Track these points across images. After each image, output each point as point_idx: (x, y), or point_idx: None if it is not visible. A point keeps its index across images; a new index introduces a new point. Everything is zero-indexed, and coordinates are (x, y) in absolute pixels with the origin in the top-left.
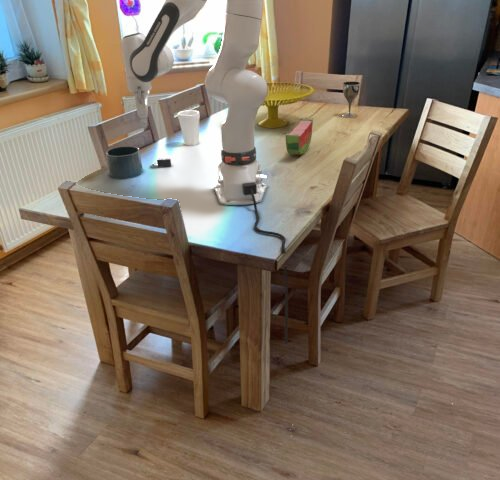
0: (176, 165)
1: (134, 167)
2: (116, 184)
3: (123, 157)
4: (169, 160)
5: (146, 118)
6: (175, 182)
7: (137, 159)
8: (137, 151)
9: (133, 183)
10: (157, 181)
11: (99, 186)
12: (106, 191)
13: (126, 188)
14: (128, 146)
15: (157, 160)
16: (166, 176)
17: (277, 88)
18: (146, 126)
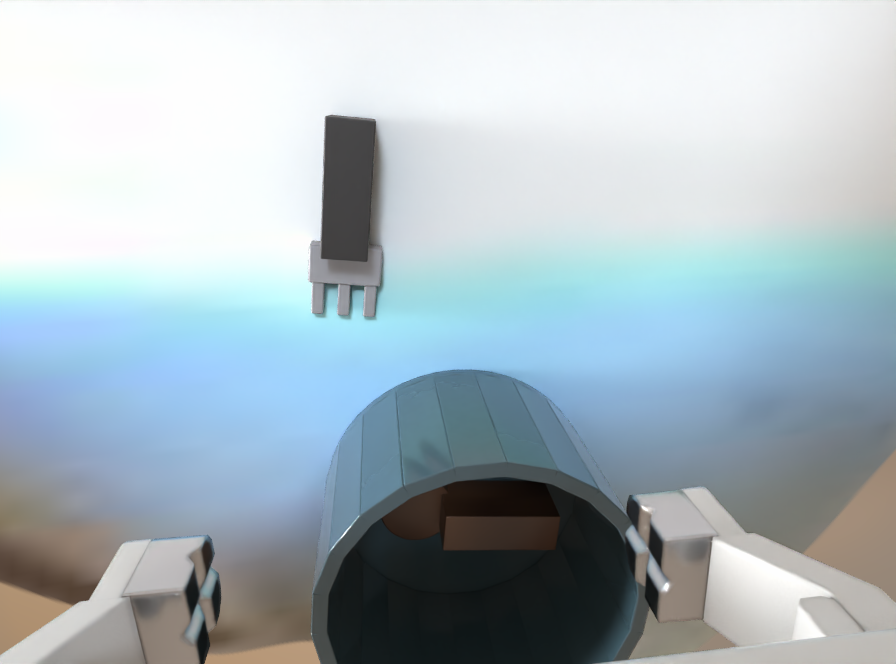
0: (339, 59)
1: (583, 445)
2: None
3: None
4: (374, 127)
5: (197, 575)
6: (807, 70)
7: (563, 445)
8: (542, 475)
9: (704, 411)
10: (726, 231)
11: None
12: None
13: (786, 446)
14: (331, 585)
15: (367, 256)
16: (631, 157)
17: None
18: (709, 503)
